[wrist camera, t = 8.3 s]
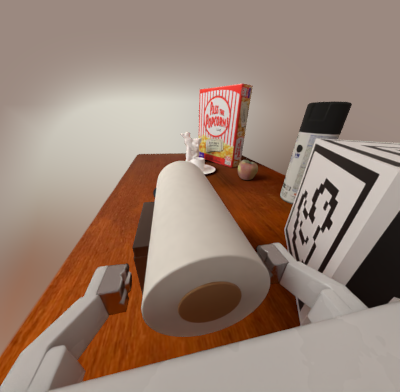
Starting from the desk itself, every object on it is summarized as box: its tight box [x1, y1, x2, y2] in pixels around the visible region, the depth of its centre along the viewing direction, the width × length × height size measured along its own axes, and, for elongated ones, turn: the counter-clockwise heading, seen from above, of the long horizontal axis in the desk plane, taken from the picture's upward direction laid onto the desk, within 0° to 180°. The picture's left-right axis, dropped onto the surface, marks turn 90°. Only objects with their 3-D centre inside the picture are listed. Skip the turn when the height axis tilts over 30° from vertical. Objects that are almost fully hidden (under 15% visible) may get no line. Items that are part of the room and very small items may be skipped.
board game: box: [199, 84, 252, 168], centre depth 62 cm, size 20×6×27 cm, turn 41°
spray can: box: [280, 102, 352, 204], centre depth 33 cm, size 7×7×20 cm
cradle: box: [133, 202, 155, 295], centre depth 19 cm, size 10×8×7 cm
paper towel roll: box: [141, 161, 270, 337], centre depth 14 cm, size 6×15×6 cm, turn 11°
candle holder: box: [193, 157, 215, 174], centre depth 55 cm, size 12×12×4 cm
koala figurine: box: [181, 132, 202, 163], centre depth 62 cm, size 8×7×12 cm
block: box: [284, 138, 400, 326], centre depth 15 cm, size 15×15×15 cm
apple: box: [238, 160, 258, 180], centre depth 48 cm, size 6×8×6 cm
